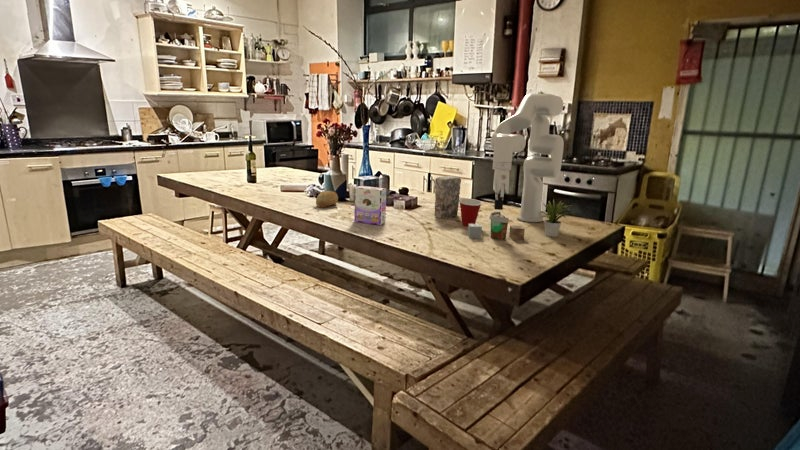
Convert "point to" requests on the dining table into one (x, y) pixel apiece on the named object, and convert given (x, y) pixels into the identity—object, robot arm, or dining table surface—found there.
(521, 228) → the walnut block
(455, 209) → the stone block
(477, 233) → the slate-grey block
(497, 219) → the food container
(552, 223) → the house plant
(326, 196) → the bread roll
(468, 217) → the plastic cup
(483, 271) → the dining table surface
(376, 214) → the candy box
